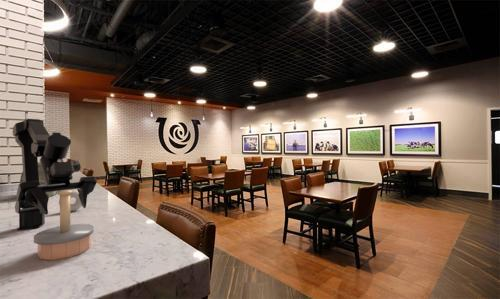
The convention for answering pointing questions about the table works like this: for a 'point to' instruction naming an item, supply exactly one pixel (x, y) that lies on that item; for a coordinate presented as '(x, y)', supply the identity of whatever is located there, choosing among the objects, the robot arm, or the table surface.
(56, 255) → the bowl
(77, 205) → the donut
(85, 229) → the cover
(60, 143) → the robot arm
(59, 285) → the table surface
